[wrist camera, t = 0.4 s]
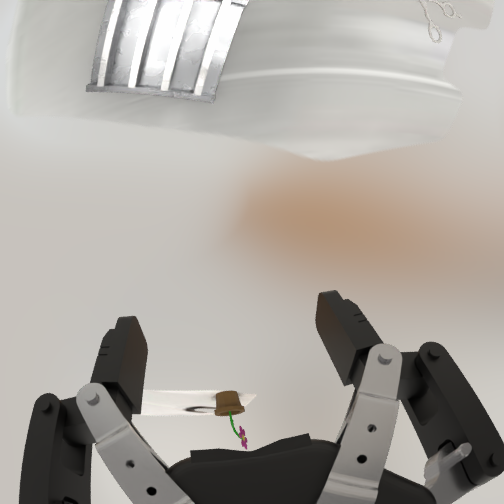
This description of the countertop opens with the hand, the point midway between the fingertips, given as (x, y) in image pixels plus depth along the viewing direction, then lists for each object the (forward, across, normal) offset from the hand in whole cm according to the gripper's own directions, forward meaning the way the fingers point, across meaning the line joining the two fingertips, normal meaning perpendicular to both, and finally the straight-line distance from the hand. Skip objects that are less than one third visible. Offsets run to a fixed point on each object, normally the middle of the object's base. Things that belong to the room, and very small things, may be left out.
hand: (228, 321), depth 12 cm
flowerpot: (+66, +6, +107) cm, 126 cm away
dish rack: (+25, +4, -19) cm, 32 cm away
